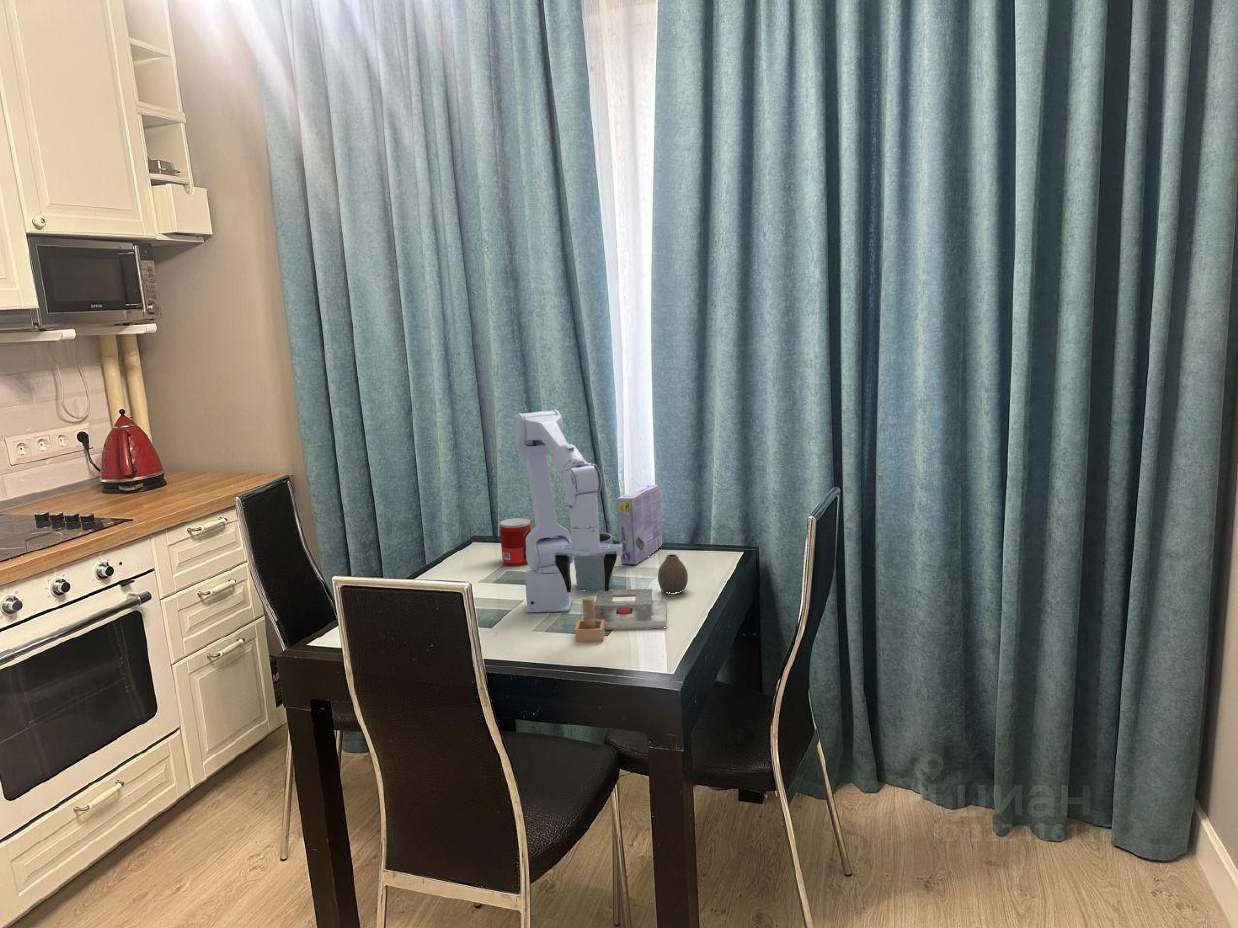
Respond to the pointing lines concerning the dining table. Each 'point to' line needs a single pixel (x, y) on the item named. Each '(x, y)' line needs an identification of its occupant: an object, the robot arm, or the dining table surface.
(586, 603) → the stylus
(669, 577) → the vase
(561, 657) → the dining table surface
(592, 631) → the holder
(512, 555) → the canned food
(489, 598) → the dining table surface
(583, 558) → the green cylindrical pot
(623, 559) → the cake pan box
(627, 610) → the button
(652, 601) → the grey fixture board
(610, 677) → the dining table surface
